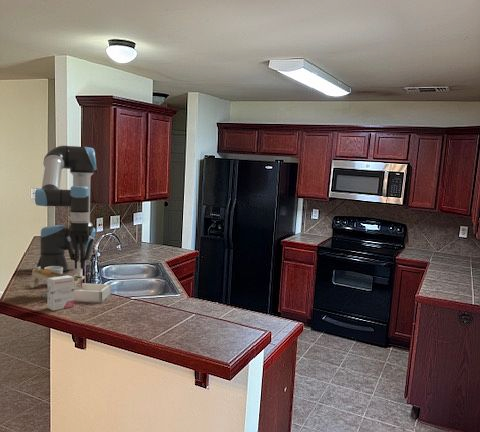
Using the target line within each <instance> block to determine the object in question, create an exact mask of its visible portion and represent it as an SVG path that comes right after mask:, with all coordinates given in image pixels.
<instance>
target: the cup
mask: <svg viewBox="0 0 480 432" xmlns="http://www.w3.org/2000/svg"><path fill="white" fill-rule="evenodd" d="M47 268H48V269H50V270H51V272H55V273H60V274H64V271H63V267H61V266H49V267H45V268H44V269H47ZM43 282H44V283H45V285H46V286H48V281H47V280H43Z"/></svg>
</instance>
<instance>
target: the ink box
mask: <svg viewBox="0 0 480 432" xmlns="http://www.w3.org/2000/svg"><path fill="white" fill-rule="evenodd" d="M66 275H67V276H60V277H53V278H48V285H47V291H46V292H47V293H46V294H47V299H46V301H47V306H46V307H47V309H49V310H50V311H58V310H63V309H69V308H73V307H74V306H75V303H74V302H75V301H74V277H72V276H73V275H68V274H66Z"/></svg>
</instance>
